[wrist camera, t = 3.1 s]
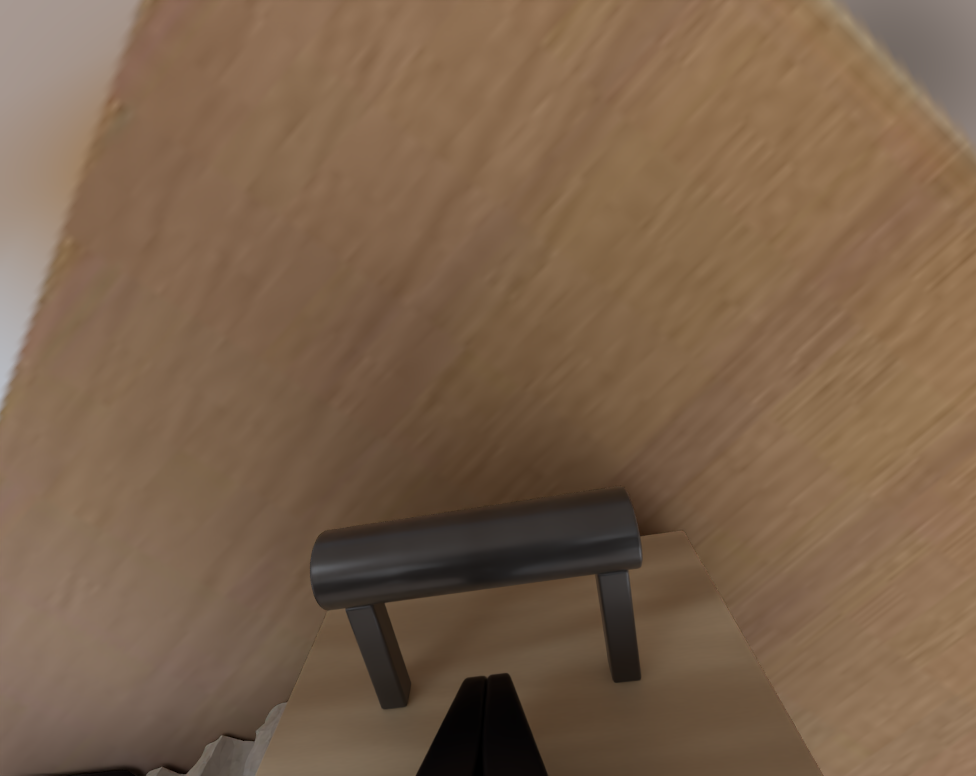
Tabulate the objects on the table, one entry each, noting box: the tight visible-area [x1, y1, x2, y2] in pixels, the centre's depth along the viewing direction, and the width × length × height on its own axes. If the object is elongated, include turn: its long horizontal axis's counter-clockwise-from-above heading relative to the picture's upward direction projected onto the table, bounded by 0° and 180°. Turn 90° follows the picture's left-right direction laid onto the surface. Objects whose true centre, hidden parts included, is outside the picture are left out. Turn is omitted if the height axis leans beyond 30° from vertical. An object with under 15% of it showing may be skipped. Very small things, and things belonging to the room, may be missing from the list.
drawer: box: [255, 486, 823, 776], centre depth 13 cm, size 17×10×7 cm, turn 11°
